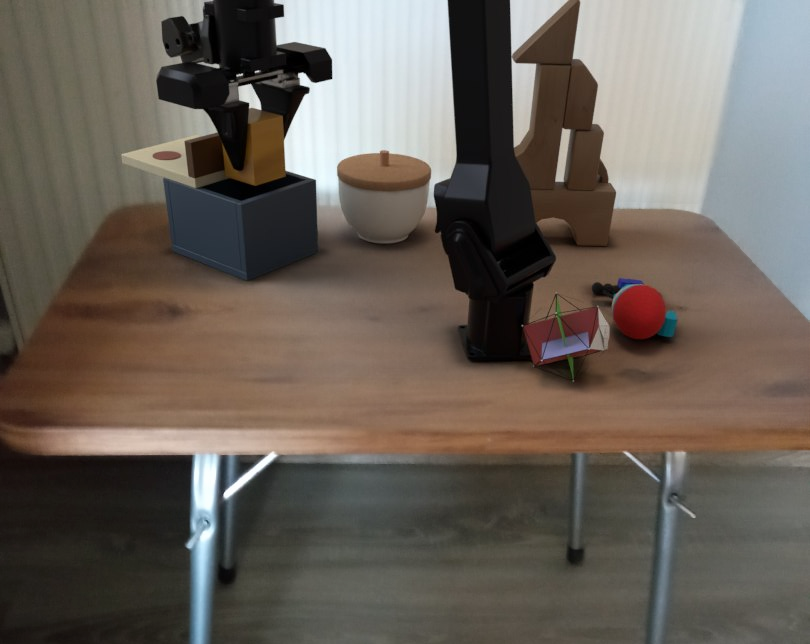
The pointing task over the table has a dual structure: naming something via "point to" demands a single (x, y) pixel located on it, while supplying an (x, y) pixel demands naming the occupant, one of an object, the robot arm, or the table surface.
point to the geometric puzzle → (567, 336)
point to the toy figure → (638, 309)
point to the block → (261, 150)
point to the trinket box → (383, 194)
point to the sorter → (244, 223)
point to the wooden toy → (551, 111)
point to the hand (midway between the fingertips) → (255, 164)
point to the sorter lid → (183, 160)
